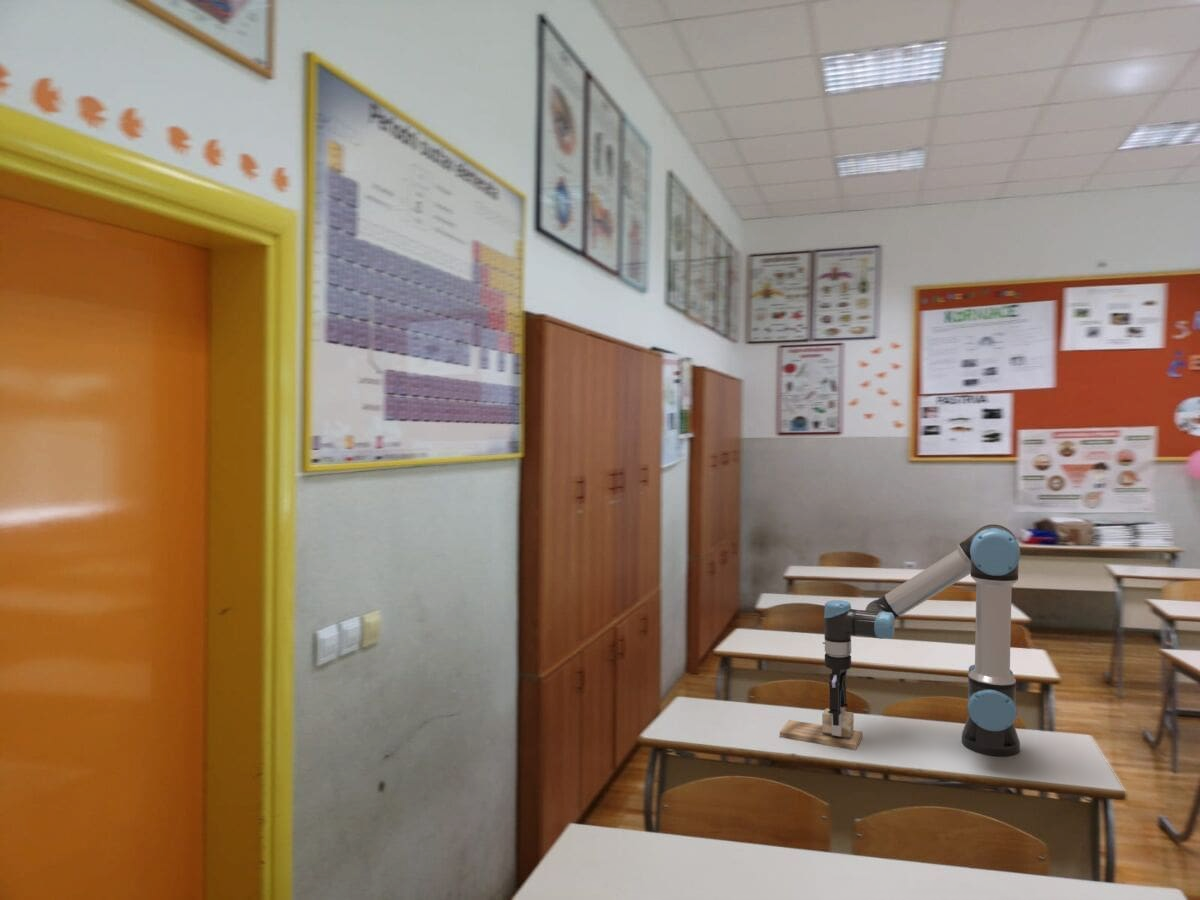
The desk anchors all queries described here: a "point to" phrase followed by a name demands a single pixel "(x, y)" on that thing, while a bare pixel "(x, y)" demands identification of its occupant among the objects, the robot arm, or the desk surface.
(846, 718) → the block
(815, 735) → the board
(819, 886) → the desk surface
